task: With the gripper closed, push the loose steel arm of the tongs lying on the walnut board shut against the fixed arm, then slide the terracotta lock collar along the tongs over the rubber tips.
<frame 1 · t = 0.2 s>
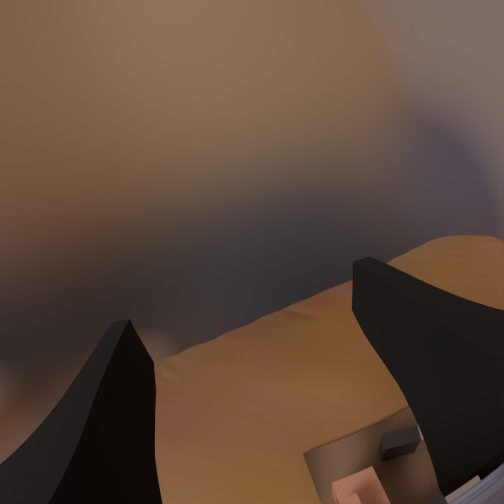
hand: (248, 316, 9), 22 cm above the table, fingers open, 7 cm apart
tongs arm: (459, 424, 18), point 3 cm above the table, hinge at -15.0°
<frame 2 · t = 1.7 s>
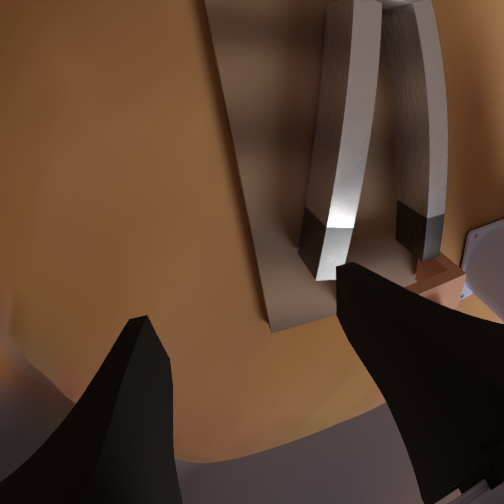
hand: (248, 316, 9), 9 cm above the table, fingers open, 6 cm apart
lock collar: (411, 299, 18), point 4 cm above the table, slide at 0.0 cm
tongs arm: (340, 136, 14), point 3 cm above the table, hinge at -15.0°
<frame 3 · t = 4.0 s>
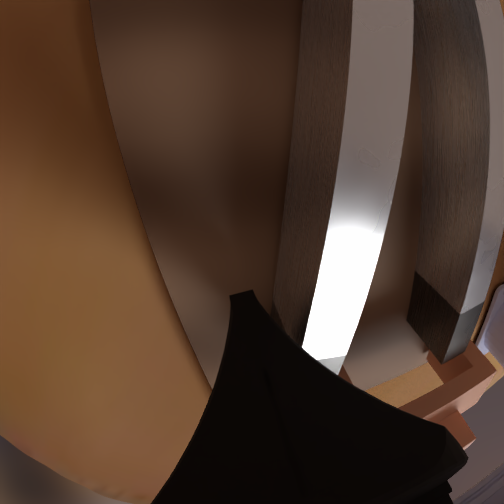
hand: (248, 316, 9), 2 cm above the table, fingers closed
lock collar: (418, 406, 12), point 5 cm above the table, slide at 0.0 cm
tongs arm: (332, 195, 8), point 3 cm above the table, hinge at -14.2°, touching gripper
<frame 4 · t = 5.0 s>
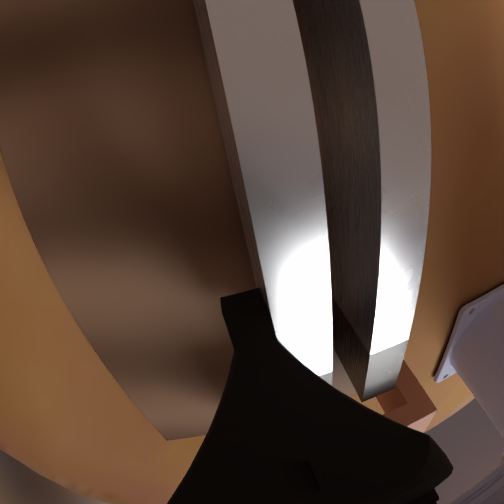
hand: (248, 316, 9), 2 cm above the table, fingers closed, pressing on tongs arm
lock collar: (342, 439, 11), point 4 cm above the table, slide at 0.0 cm
tongs arm: (278, 232, 8), point 3 cm above the table, hinge at 0.7°, touching gripper
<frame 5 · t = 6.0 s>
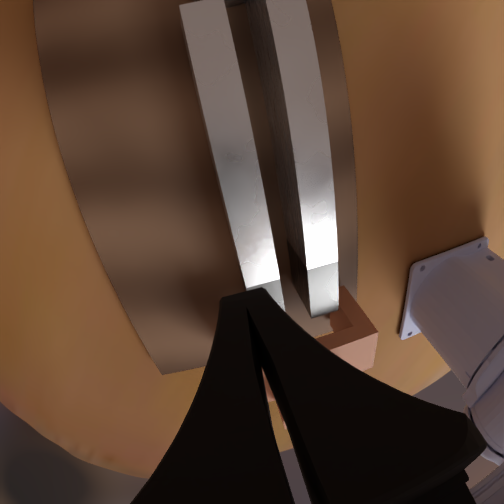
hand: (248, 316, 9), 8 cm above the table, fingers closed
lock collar: (302, 358, 16), point 4 cm above the table, slide at 0.0 cm
tongs arm: (236, 179, 12), point 3 cm above the table, hinge at 0.8°
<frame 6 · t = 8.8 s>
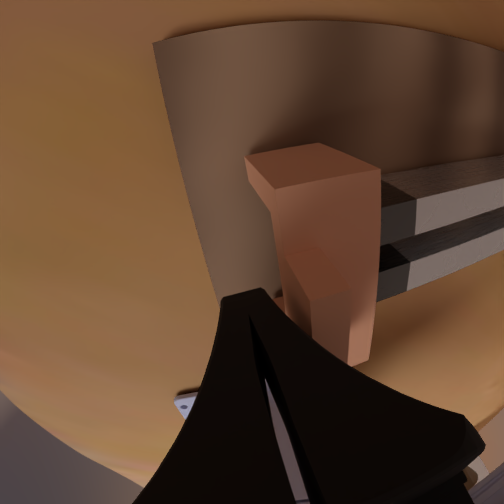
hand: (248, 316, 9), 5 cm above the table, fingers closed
gable box: (422, 462, 51), on the table
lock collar: (322, 278, 10), point 5 cm above the table, slide at 1.4 cm, touching gripper
tongs arm: (460, 187, 12), point 3 cm above the table, hinge at 0.8°
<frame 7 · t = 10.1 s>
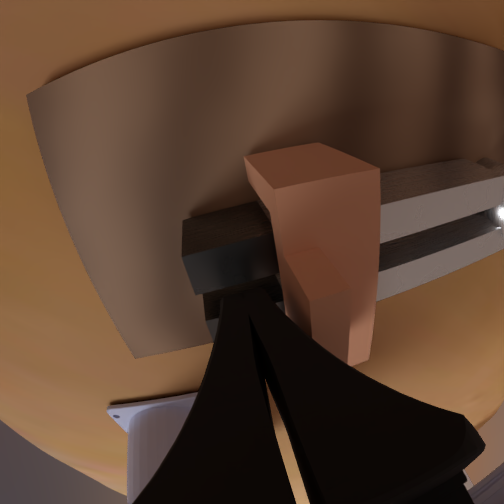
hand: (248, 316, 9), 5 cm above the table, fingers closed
walnut board: (471, 183, 15), on the table
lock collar: (322, 278, 10), point 4 cm above the table, slide at 6.8 cm, touching gripper
tongs arm: (371, 206, 11), point 3 cm above the table, hinge at 0.8°
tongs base: (471, 183, 15), resting on walnut board
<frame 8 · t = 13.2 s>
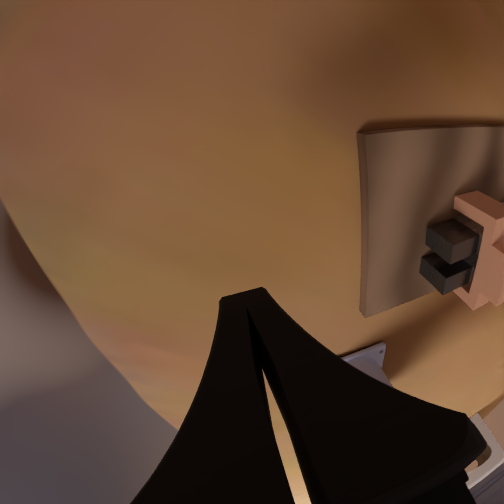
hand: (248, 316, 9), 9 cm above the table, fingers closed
gable box: (441, 441, 59), on the table
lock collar: (486, 256, 18), point 4 cm above the table, slide at 6.8 cm
tongs arm: (495, 223, 19), point 3 cm above the table, hinge at 0.8°
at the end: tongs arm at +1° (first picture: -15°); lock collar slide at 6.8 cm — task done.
